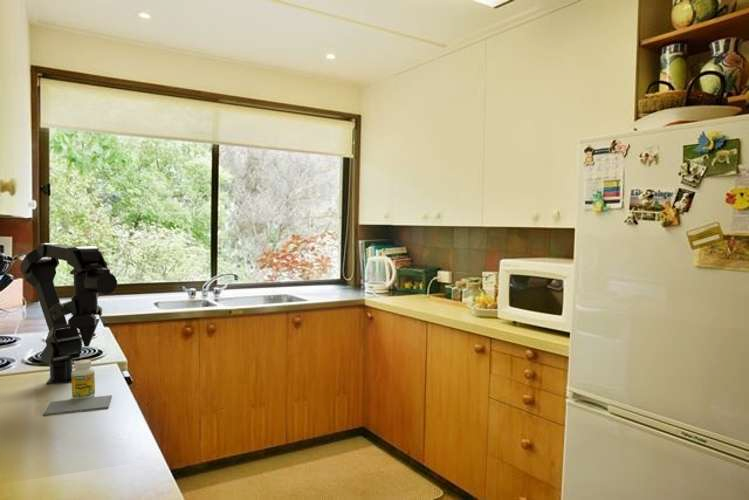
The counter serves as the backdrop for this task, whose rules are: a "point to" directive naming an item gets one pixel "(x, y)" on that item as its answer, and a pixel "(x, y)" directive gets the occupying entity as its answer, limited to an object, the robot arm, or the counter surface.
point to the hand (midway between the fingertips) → (86, 346)
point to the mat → (78, 405)
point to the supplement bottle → (83, 380)
